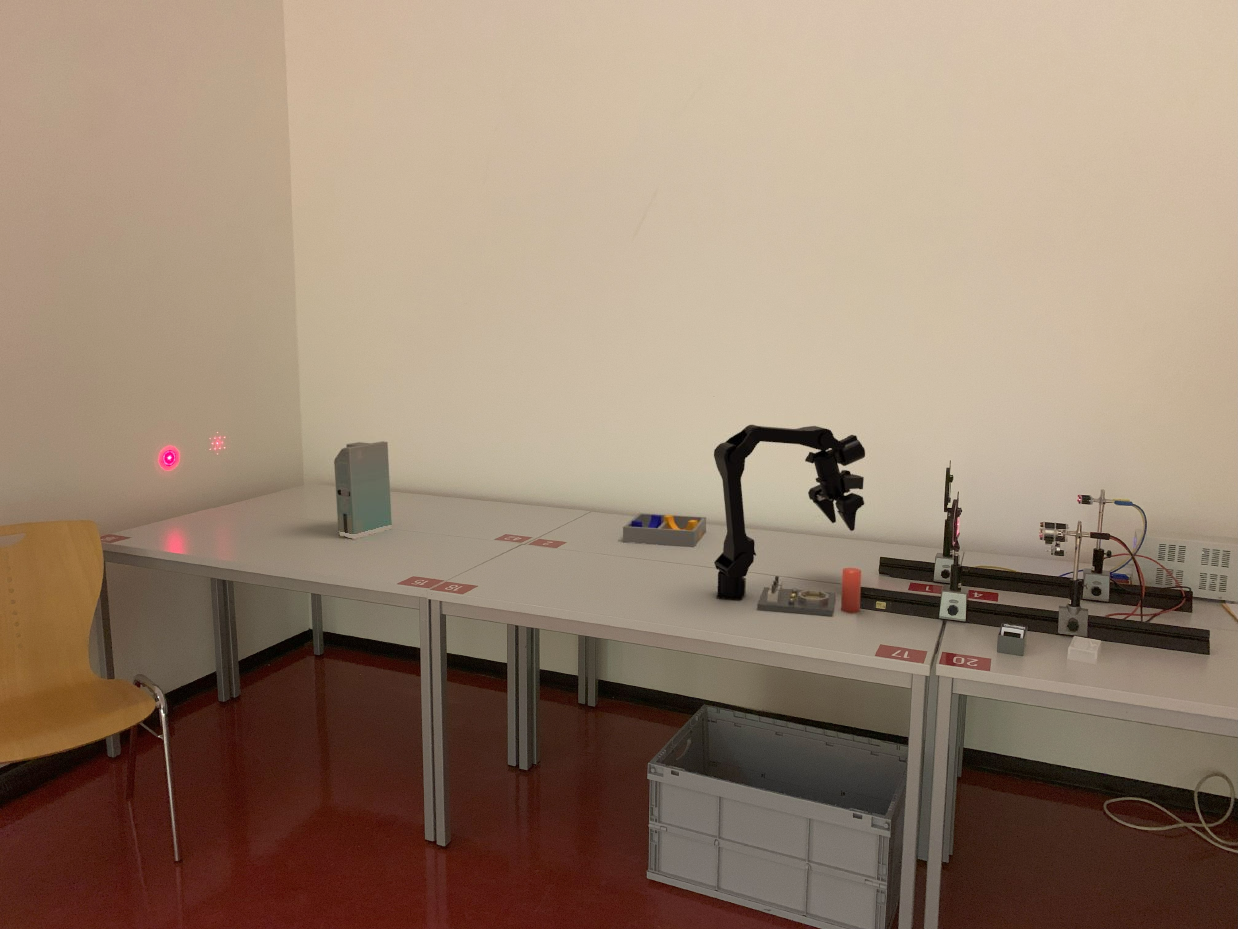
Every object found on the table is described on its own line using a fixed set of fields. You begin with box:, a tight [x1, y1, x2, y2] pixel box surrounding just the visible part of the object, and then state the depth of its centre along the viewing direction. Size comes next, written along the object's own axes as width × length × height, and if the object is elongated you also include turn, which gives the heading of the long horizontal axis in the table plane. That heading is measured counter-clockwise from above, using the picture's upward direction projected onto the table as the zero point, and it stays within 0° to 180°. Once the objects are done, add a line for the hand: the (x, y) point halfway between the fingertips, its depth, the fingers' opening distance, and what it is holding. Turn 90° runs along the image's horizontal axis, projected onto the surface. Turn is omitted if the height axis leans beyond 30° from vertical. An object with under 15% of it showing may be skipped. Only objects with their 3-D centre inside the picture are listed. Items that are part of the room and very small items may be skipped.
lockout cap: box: [840, 567, 862, 614], centre depth 218 cm, size 4×4×10 cm
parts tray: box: [622, 512, 707, 548], centre depth 290 cm, size 23×20×5 cm
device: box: [333, 441, 393, 534], centre depth 295 cm, size 16×8×30 cm, turn 148°
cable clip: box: [632, 513, 661, 528], centre depth 291 cm, size 12×4×6 cm, turn 141°
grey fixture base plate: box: [756, 575, 836, 617], centre depth 223 cm, size 18×14×6 cm
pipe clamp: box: [664, 514, 702, 541], centre depth 288 cm, size 12×4×6 cm, turn 47°
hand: (843, 526), depth 236 cm, fingers open, 9 cm apart
